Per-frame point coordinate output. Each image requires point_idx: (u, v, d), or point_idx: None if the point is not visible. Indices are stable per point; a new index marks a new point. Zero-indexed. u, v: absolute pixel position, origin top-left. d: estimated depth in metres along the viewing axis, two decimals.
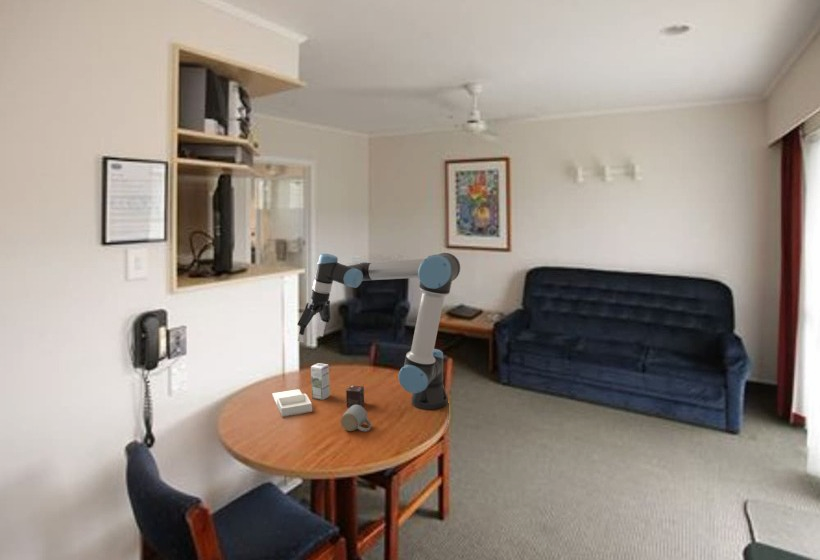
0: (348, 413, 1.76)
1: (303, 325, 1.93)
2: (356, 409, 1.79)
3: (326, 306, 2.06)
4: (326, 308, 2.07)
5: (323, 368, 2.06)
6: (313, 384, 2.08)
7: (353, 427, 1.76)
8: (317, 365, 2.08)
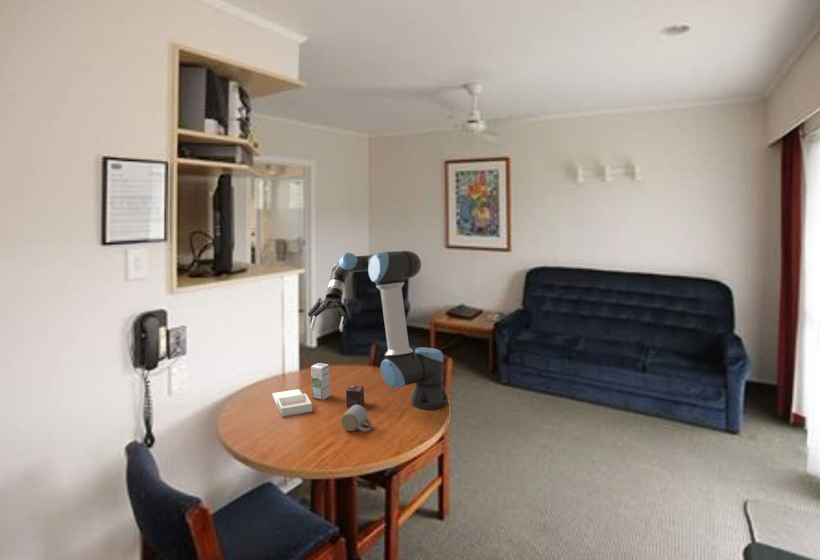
0: (349, 413, 1.76)
1: (308, 312, 2.22)
2: (357, 409, 1.79)
3: (344, 304, 2.24)
4: None
5: (323, 368, 2.06)
6: (313, 384, 2.08)
7: (354, 427, 1.75)
8: (317, 365, 2.08)
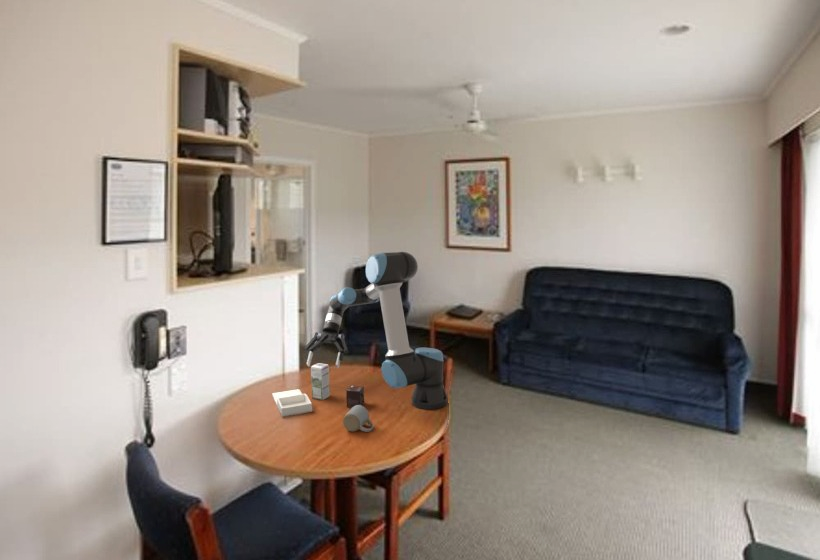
0: (350, 413, 1.76)
1: (305, 347, 2.20)
2: (358, 409, 1.79)
3: (341, 339, 2.21)
4: None
5: (323, 368, 2.06)
6: (313, 384, 2.08)
7: (355, 427, 1.75)
8: (317, 365, 2.08)
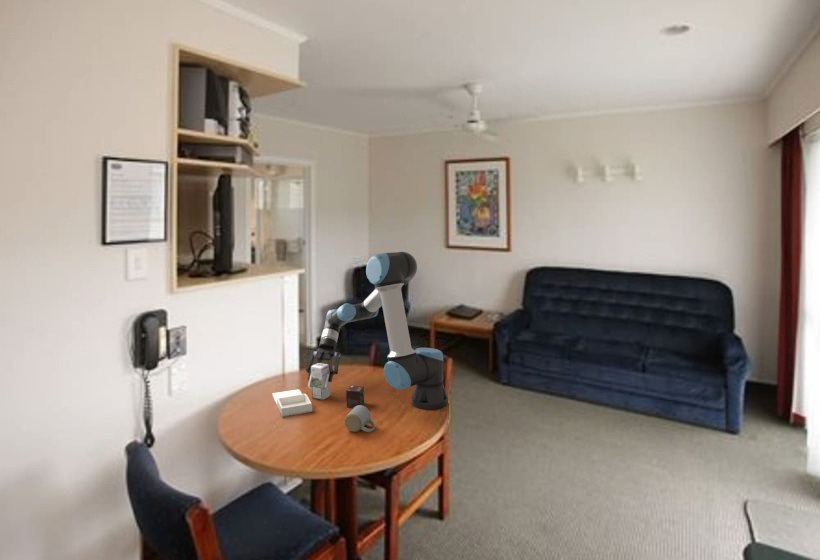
0: (352, 414, 1.76)
1: (306, 368, 2.11)
2: (360, 410, 1.78)
3: None
4: None
5: (323, 368, 2.06)
6: (313, 384, 2.08)
7: (357, 428, 1.75)
8: (317, 365, 2.08)
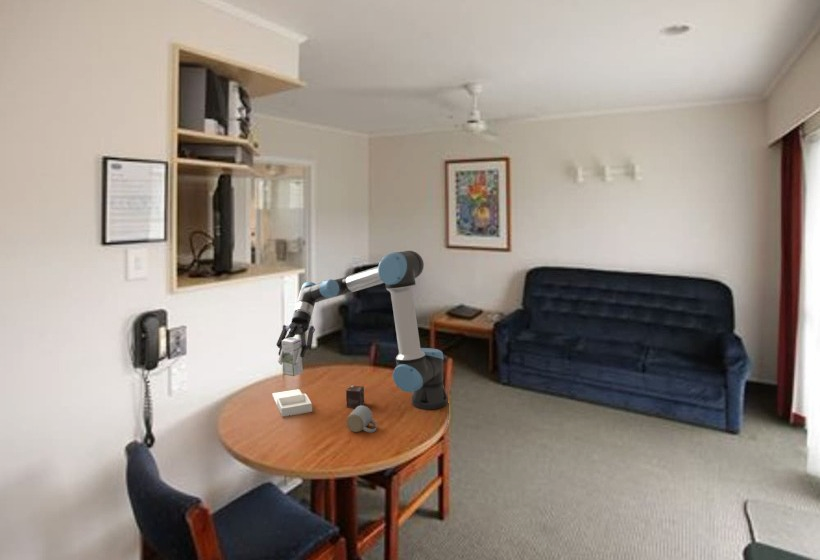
0: (354, 414, 1.75)
1: (277, 343, 1.97)
2: (362, 410, 1.78)
3: None
4: None
5: (295, 342, 1.92)
6: (284, 359, 1.94)
7: (359, 428, 1.75)
8: (288, 339, 1.94)
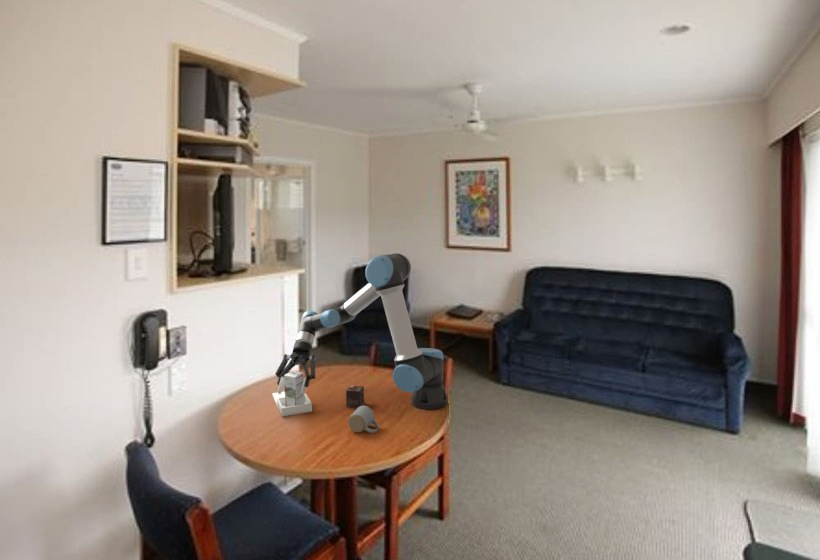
0: (355, 414, 1.75)
1: (276, 373, 1.99)
2: (363, 410, 1.78)
3: None
4: None
5: (297, 377, 1.94)
6: (286, 394, 1.95)
7: (361, 428, 1.74)
8: (291, 374, 1.96)
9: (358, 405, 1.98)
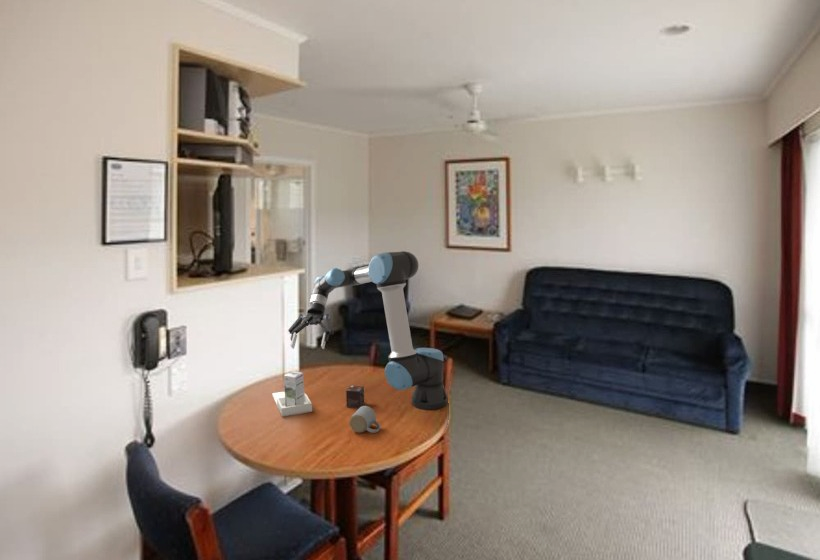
0: (357, 414, 1.75)
1: (289, 329, 2.13)
2: (365, 410, 1.78)
3: (326, 320, 2.14)
4: (327, 321, 2.14)
5: (297, 377, 1.94)
6: (286, 394, 1.95)
7: (362, 428, 1.74)
8: (291, 374, 1.96)
9: (358, 405, 1.98)
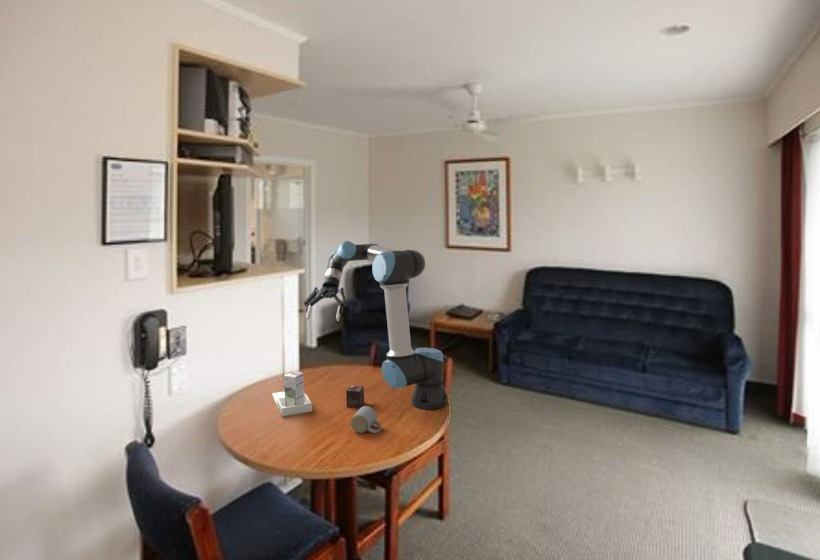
0: (358, 415, 1.75)
1: (304, 301, 2.16)
2: (366, 410, 1.78)
3: (341, 293, 2.18)
4: None
5: (297, 377, 1.94)
6: (286, 394, 1.95)
7: (363, 429, 1.74)
8: (291, 374, 1.96)
9: (358, 405, 1.98)
